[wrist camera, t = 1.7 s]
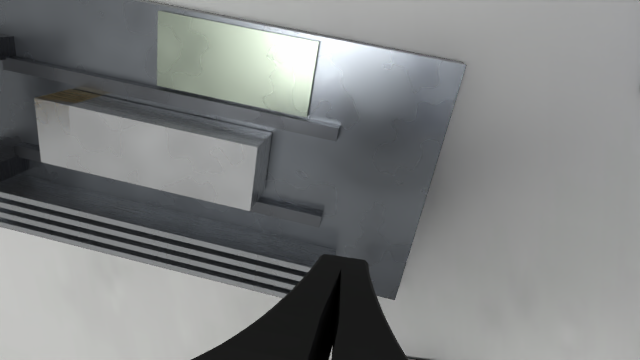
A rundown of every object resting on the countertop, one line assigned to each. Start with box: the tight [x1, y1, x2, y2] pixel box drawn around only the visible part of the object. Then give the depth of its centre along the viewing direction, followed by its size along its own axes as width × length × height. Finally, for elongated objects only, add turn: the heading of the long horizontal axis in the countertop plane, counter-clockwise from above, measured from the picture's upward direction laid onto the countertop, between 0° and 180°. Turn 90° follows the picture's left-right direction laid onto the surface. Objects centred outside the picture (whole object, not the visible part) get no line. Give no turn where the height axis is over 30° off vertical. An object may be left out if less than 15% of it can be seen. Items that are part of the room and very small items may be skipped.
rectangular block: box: [34, 89, 272, 211], centre depth 19 cm, size 10×3×2 cm, turn 80°
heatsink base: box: [0, 0, 466, 300], centre depth 19 cm, size 25×12×5 cm, turn 80°
